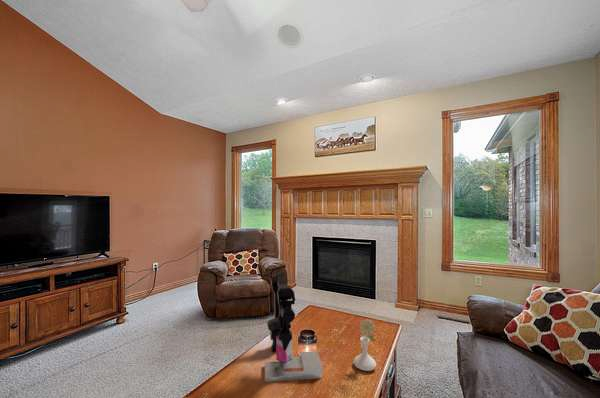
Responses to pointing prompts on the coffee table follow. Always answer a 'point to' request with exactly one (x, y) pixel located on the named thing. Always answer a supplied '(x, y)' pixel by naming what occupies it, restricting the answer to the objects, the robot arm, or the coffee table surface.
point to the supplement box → (283, 351)
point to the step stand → (295, 368)
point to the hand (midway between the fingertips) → (284, 345)
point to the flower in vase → (365, 347)
